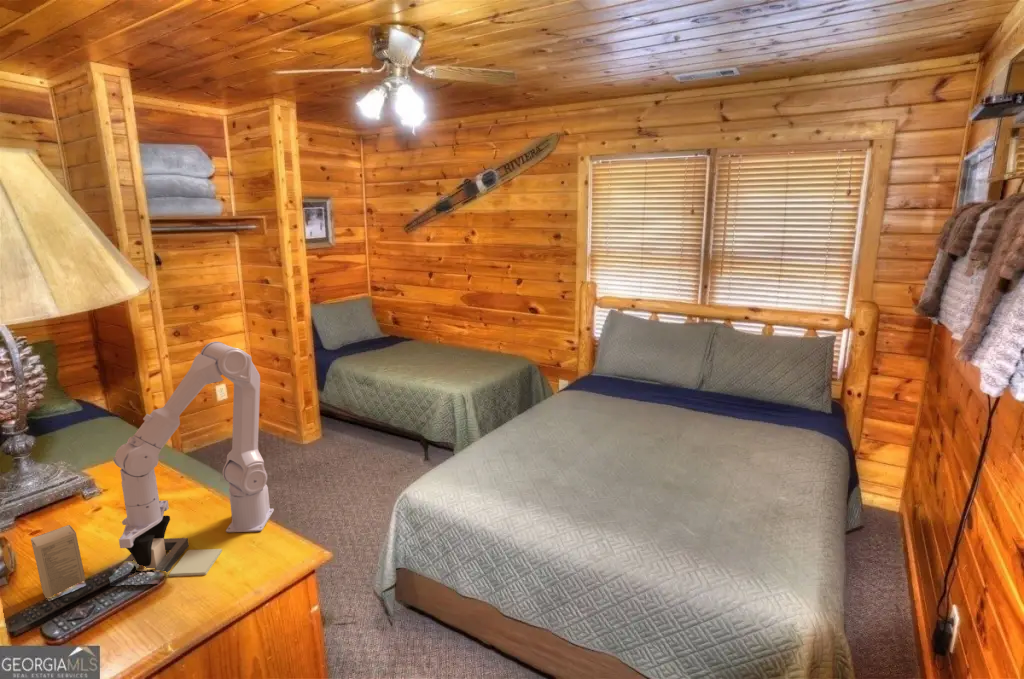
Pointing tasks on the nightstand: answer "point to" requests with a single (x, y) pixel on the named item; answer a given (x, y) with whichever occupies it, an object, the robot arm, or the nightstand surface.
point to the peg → (157, 552)
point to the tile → (196, 562)
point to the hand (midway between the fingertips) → (150, 558)
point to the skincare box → (58, 560)
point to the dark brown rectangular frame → (175, 551)
